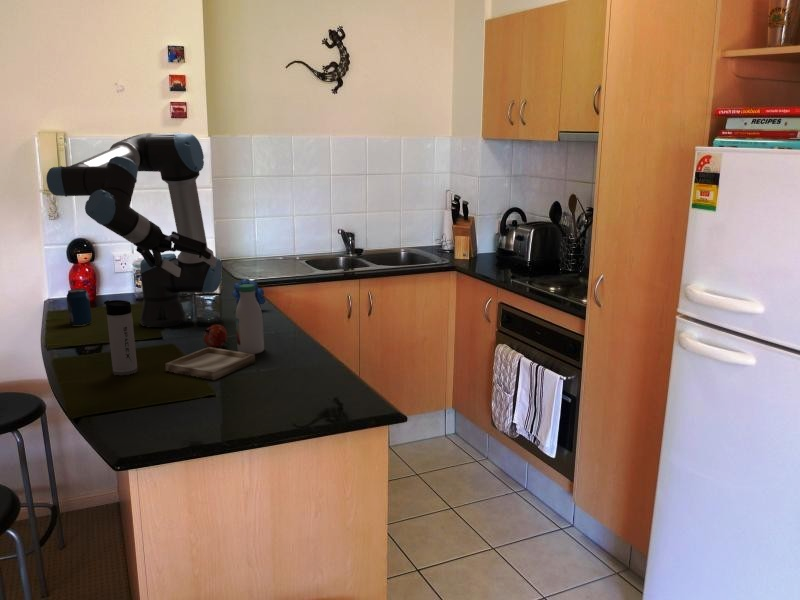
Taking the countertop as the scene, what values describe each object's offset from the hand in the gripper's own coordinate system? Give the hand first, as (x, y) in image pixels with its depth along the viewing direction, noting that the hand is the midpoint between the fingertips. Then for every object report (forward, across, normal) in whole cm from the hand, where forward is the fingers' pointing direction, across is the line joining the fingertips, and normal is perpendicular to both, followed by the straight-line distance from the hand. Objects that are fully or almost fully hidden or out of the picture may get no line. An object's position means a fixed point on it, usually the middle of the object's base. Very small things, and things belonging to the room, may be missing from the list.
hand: (197, 268), depth 204 cm
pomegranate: (+20, -7, -16) cm, 27 cm away
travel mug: (-4, -16, -31) cm, 35 cm away
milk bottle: (+22, +4, -18) cm, 29 cm away
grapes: (+50, -24, +12) cm, 56 cm away
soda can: (+14, -66, 0) cm, 67 cm away
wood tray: (+9, +2, -27) cm, 29 cm away
